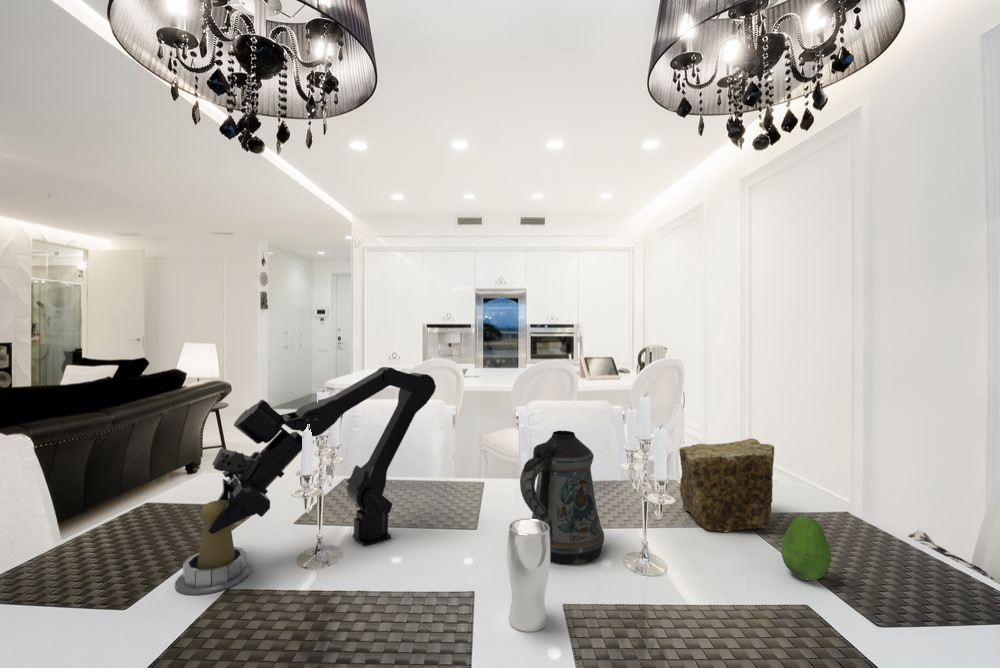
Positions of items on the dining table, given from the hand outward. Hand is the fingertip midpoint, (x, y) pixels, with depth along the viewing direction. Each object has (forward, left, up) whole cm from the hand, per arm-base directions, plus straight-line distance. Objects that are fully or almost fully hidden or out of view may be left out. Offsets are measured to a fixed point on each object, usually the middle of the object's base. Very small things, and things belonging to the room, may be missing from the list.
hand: (208, 527), depth 85 cm
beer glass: (-37, +46, -10) cm, 60 cm away
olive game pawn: (-1, 0, -7) cm, 7 cm away
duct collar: (-1, 0, -9) cm, 9 cm away
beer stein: (-60, +33, -10) cm, 69 cm away
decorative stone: (-105, +47, -10) cm, 116 cm away
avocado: (-88, +70, -10) cm, 113 cm away
